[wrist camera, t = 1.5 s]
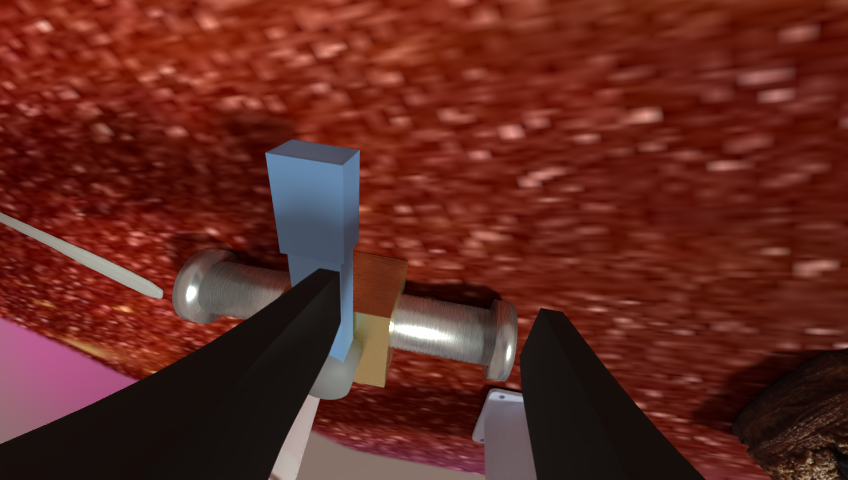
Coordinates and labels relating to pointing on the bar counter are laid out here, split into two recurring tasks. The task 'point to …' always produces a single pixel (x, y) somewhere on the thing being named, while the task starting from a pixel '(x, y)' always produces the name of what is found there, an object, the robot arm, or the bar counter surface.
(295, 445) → the smoothie
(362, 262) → the valve pipe
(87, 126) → the bar counter surface
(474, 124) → the bar counter surface
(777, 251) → the bar counter surface
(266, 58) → the bar counter surface
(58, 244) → the butter knife
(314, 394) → the lever
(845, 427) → the pastry
